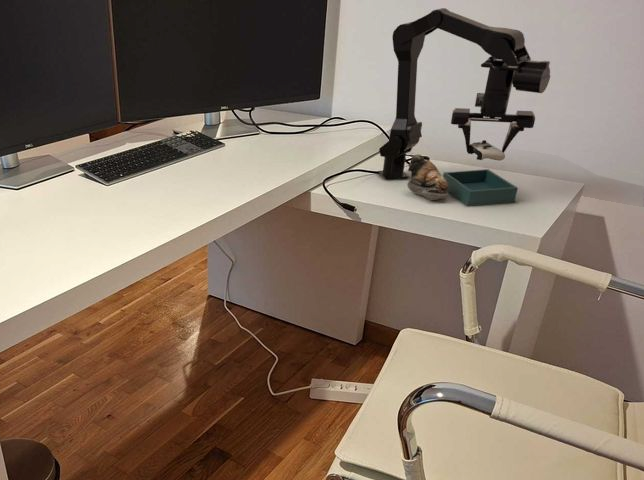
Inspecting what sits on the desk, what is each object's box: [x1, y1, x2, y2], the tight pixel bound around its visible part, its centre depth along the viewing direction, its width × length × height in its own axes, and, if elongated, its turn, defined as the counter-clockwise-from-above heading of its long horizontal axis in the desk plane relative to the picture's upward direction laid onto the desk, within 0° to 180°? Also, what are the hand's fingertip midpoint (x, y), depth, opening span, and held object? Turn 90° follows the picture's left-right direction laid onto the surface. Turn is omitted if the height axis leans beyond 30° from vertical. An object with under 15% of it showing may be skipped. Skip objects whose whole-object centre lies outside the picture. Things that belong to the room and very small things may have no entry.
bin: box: [442, 168, 519, 207], centre depth 174 cm, size 15×12×4 cm
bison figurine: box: [407, 153, 449, 201], centre depth 172 cm, size 12×7×10 cm, turn 33°
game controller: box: [467, 139, 506, 162], centre depth 169 cm, size 10×5×6 cm
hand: (484, 152), depth 169 cm, fingers closed on game controller, 8 cm apart
